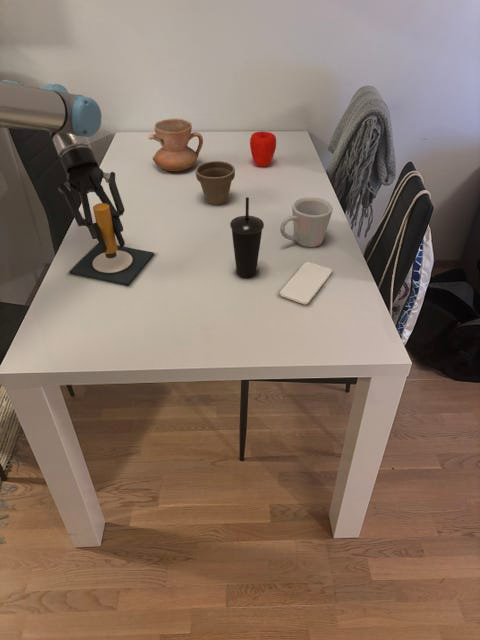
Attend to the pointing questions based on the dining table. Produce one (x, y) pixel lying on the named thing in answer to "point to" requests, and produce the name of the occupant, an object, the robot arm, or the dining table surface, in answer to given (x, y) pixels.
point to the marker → (106, 228)
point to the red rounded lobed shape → (262, 147)
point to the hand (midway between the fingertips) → (113, 248)
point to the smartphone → (305, 283)
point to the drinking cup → (246, 242)
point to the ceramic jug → (175, 144)
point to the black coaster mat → (112, 265)
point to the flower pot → (215, 180)
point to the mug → (308, 221)
